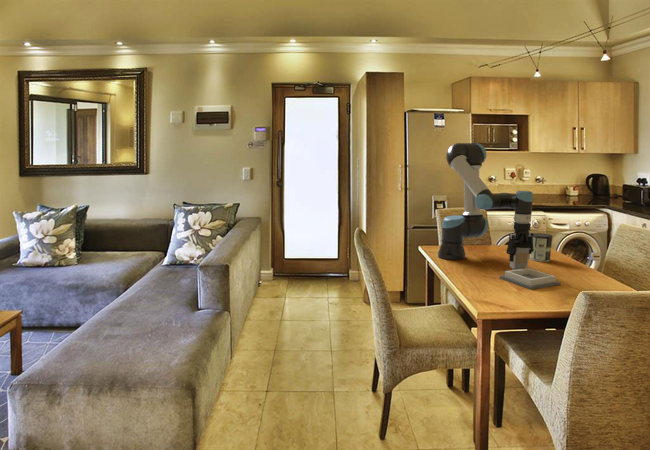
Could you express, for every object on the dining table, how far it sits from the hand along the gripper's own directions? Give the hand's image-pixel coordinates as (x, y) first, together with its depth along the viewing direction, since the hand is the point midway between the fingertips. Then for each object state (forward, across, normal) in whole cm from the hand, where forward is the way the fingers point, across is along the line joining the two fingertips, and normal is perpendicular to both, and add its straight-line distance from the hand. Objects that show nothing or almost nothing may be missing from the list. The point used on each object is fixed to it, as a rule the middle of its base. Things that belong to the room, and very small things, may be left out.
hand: (518, 266), depth 206 cm
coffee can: (+3, +29, +13) cm, 32 cm away
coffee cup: (+2, 0, 0) cm, 2 cm away
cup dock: (+2, -9, -15) cm, 18 cm away
